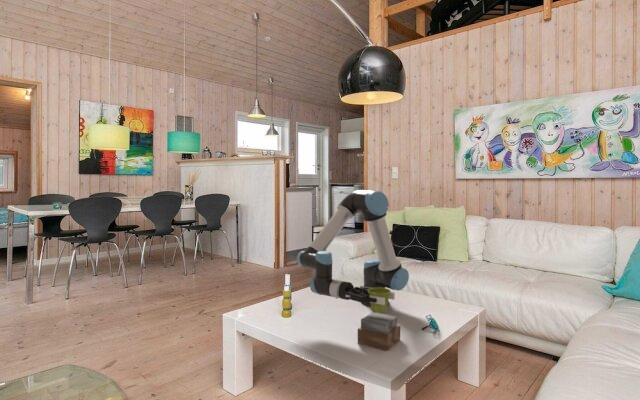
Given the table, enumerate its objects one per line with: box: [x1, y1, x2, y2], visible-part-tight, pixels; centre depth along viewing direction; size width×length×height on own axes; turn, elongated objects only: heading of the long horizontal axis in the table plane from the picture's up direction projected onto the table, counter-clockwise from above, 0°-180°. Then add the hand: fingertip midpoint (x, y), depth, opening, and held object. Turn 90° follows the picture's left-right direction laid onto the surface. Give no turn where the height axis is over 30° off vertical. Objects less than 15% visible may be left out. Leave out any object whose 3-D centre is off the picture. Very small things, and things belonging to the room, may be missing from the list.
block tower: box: [357, 311, 401, 352], centre depth 165 cm, size 13×13×10 cm
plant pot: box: [367, 287, 392, 314], centre depth 164 cm, size 9×9×9 cm
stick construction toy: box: [421, 314, 441, 333], centre depth 179 cm, size 12×7×8 cm
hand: (389, 298), depth 161 cm, fingers closed on plant pot, 8 cm apart
